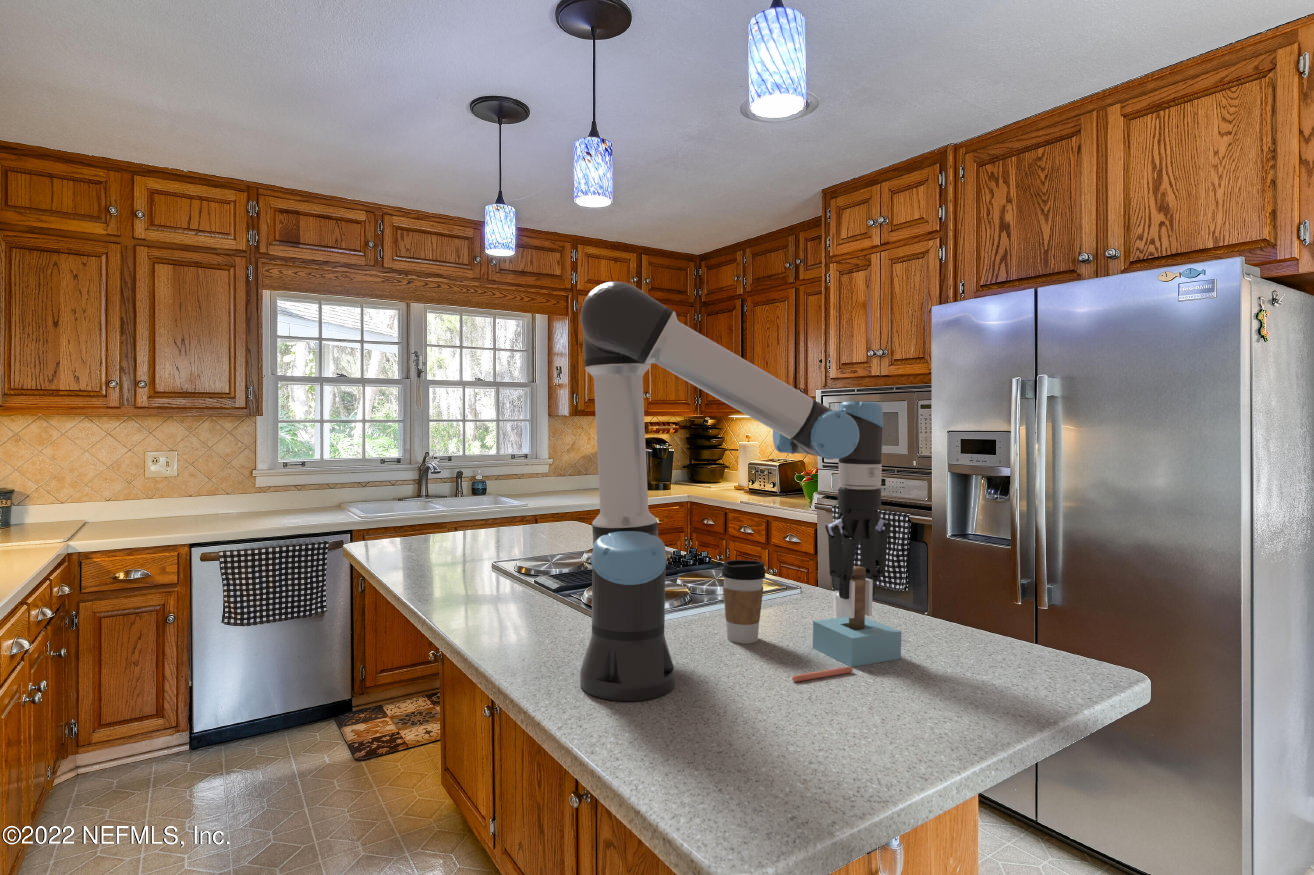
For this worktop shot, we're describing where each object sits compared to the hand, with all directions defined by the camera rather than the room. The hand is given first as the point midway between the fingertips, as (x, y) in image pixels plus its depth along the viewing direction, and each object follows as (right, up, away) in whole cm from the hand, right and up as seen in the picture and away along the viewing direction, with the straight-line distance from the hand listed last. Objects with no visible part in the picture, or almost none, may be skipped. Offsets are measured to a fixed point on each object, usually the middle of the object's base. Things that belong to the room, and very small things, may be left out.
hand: (856, 614), depth 130 cm
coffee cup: (-20, -7, +8) cm, 22 cm away
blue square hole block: (0, -7, 0) cm, 7 cm away
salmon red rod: (-9, -7, -12) cm, 17 cm away
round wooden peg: (0, -6, 0) cm, 6 cm away
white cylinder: (+3, -7, +16) cm, 17 cm away
